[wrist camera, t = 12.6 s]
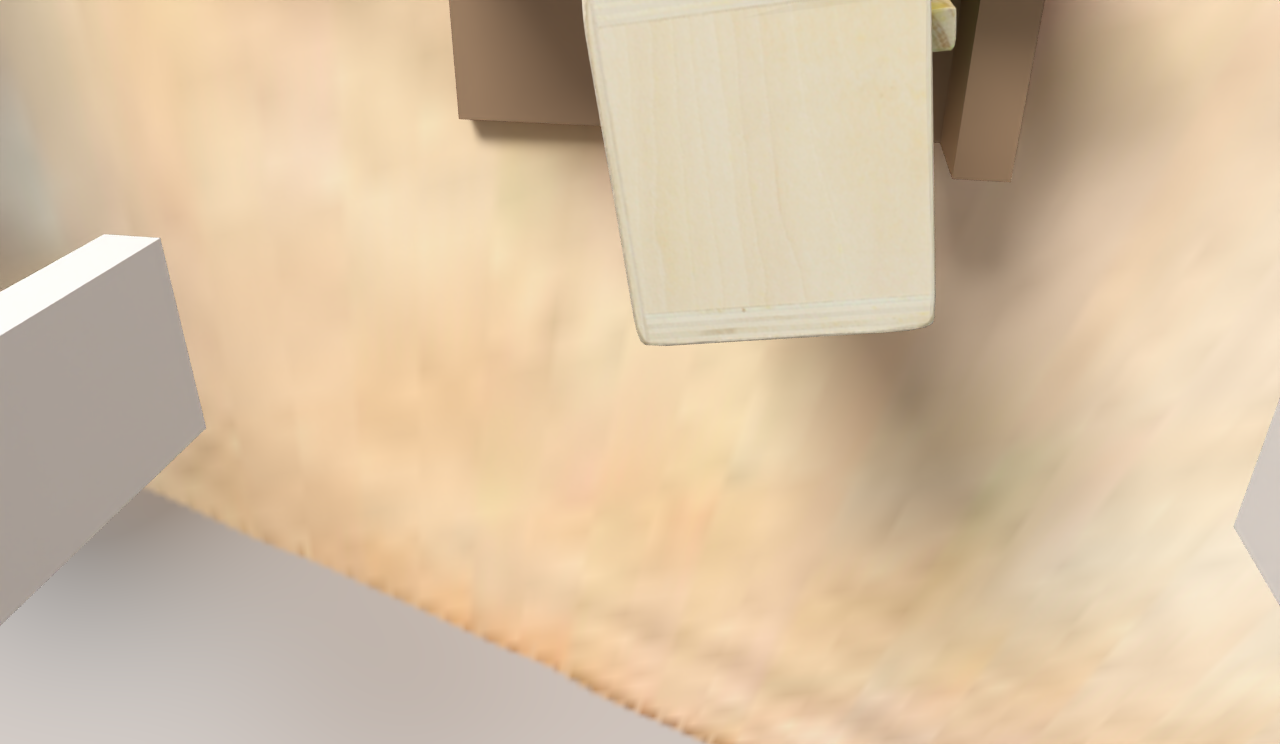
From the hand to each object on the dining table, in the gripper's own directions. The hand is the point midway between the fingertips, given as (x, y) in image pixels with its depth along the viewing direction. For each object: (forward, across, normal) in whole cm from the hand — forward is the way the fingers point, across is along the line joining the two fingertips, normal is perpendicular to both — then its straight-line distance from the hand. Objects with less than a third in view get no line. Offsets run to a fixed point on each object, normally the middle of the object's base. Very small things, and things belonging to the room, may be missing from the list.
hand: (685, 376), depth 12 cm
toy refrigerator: (+30, +1, 0) cm, 31 cm away
